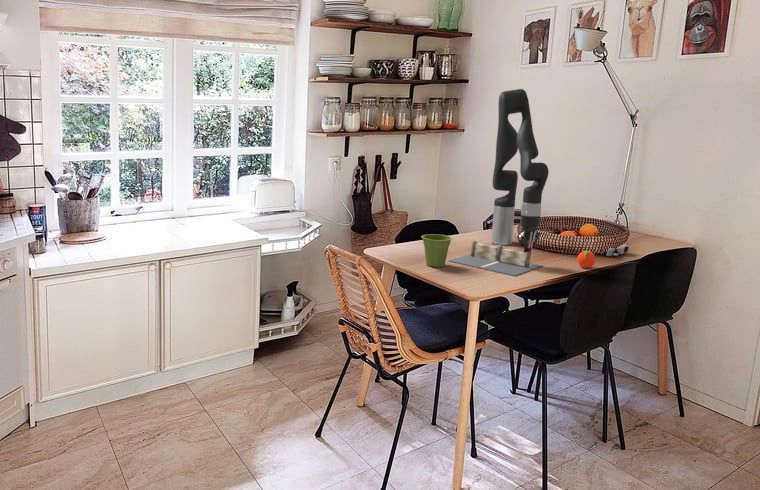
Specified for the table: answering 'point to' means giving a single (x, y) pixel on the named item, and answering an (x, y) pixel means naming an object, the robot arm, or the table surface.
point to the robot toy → (617, 250)
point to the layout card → (494, 265)
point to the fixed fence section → (484, 251)
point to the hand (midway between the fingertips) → (526, 256)
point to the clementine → (586, 259)
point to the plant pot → (436, 249)
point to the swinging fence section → (513, 257)
